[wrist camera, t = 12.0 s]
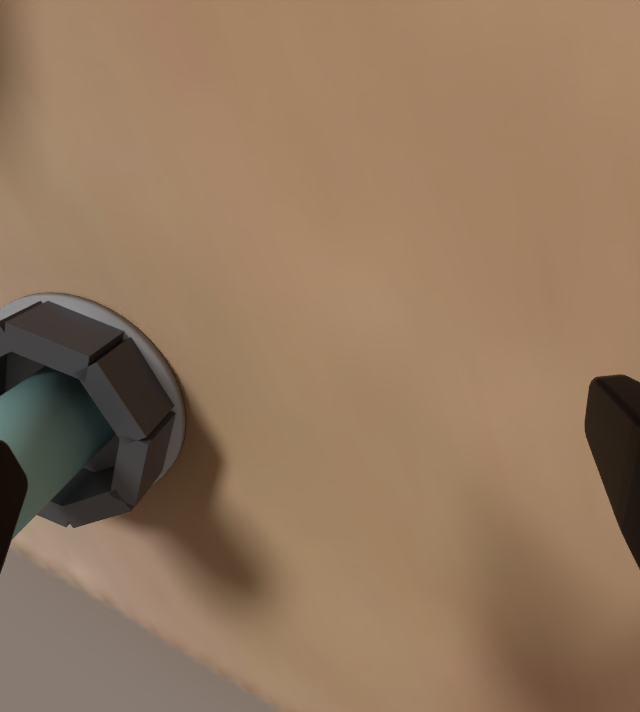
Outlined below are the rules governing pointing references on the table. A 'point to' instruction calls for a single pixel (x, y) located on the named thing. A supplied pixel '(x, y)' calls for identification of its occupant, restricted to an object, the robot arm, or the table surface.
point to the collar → (99, 397)
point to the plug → (50, 434)
